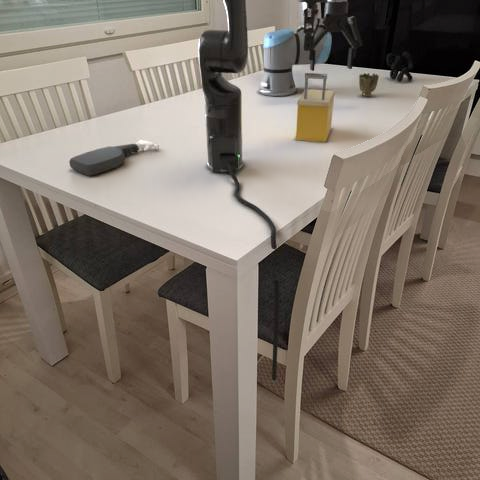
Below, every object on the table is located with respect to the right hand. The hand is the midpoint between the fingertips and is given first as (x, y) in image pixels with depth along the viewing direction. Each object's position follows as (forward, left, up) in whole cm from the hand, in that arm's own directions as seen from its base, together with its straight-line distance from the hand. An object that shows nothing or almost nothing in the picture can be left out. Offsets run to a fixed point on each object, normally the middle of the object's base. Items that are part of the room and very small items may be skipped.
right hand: (330, 69), depth 156 cm
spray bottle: (+37, -73, -14) cm, 83 cm away
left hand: (+28, -17, +12) cm, 35 cm away
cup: (-14, +21, -14) cm, 29 cm away
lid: (+26, -13, -3) cm, 30 cm away
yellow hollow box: (+26, -13, -14) cm, 32 cm away
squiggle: (-37, +46, -14) cm, 61 cm away
